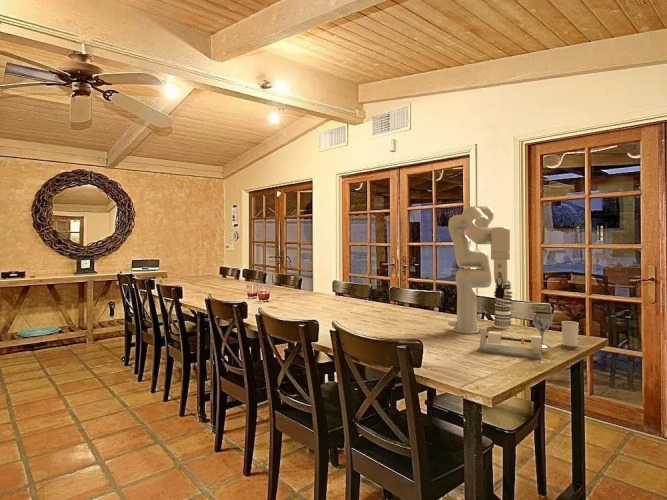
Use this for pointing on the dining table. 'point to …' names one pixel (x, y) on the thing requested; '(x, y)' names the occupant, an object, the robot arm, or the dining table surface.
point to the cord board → (509, 350)
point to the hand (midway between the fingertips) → (500, 296)
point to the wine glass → (542, 323)
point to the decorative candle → (503, 308)
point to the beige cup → (569, 333)
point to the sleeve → (494, 337)
